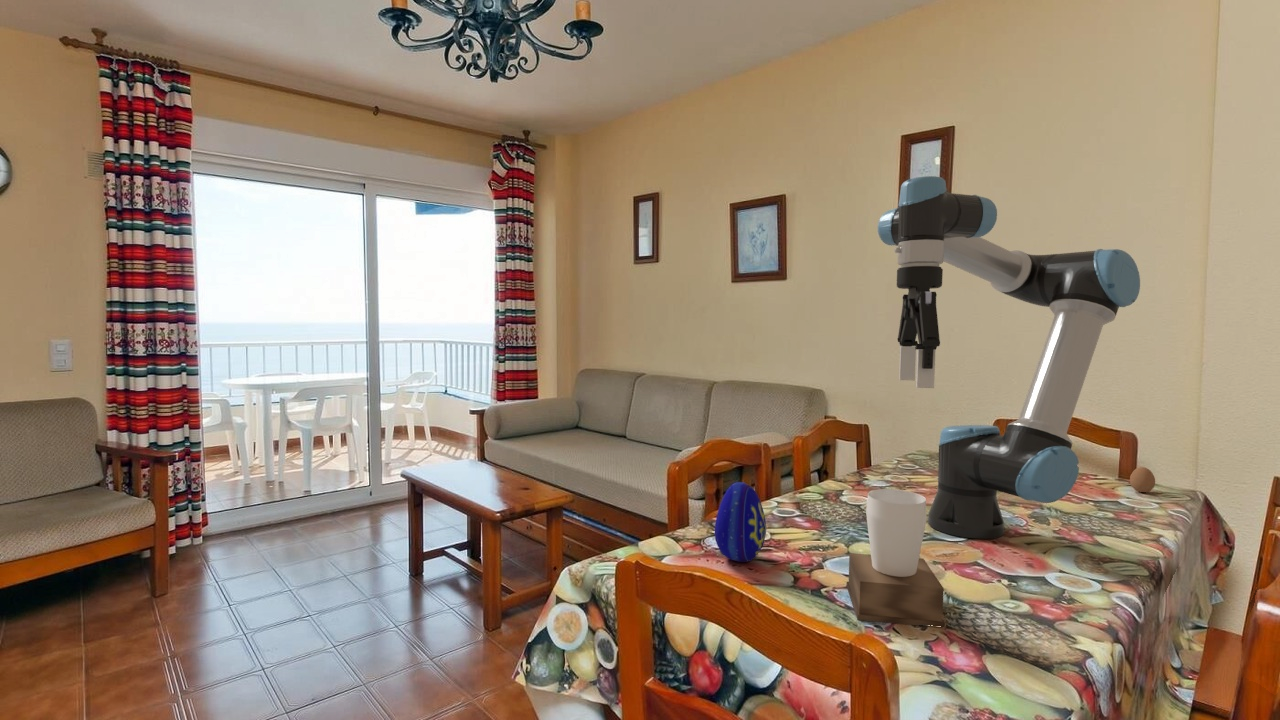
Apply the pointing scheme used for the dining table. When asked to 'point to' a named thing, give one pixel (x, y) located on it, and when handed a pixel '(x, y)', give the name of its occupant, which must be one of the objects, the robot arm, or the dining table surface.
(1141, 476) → the egg
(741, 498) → the ornament
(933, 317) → the robot arm
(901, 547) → the cup
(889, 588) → the riser
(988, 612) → the dining table surface
